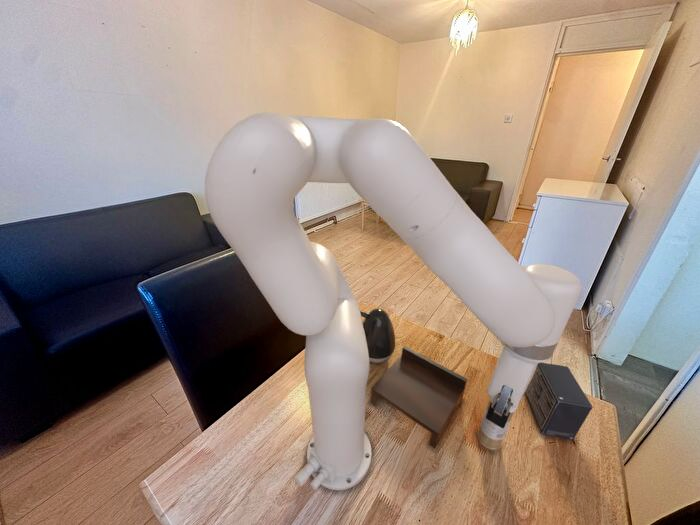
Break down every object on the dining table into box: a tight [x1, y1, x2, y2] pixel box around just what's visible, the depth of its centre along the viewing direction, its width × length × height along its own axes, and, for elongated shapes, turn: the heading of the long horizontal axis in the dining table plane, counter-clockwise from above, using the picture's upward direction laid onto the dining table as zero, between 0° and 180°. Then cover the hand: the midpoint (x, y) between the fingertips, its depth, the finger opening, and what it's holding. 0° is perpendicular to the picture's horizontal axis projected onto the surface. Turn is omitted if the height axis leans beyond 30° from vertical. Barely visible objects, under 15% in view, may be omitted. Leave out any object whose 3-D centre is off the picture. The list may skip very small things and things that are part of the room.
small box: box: [524, 362, 594, 441], centre depth 61 cm, size 11×6×10 cm, turn 168°
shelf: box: [370, 345, 468, 450], centre depth 64 cm, size 14×16×8 cm
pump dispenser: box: [360, 308, 396, 364], centre depth 76 cm, size 10×10×15 cm
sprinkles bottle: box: [476, 395, 520, 451], centre depth 55 cm, size 5×5×14 cm
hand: (499, 411), depth 54 cm, fingers closed on sprinkles bottle, 4 cm apart
